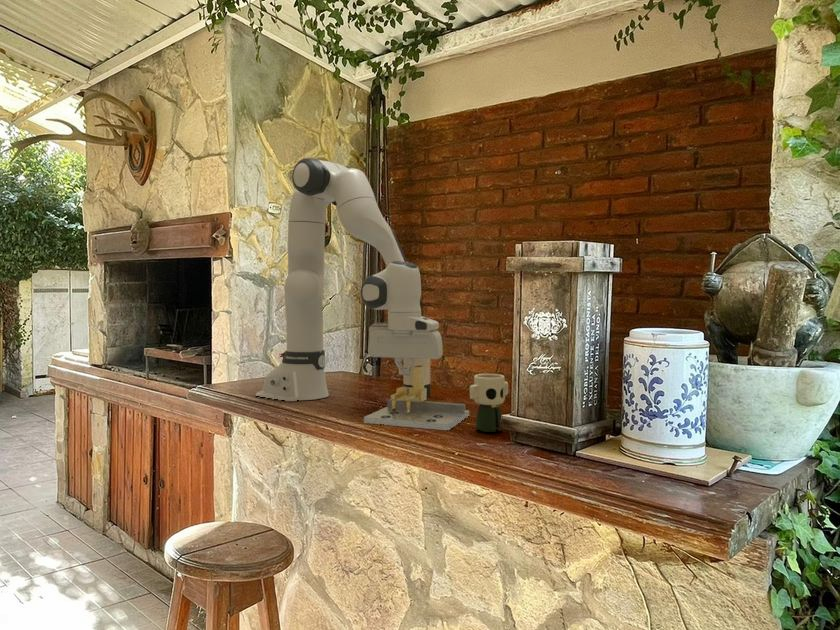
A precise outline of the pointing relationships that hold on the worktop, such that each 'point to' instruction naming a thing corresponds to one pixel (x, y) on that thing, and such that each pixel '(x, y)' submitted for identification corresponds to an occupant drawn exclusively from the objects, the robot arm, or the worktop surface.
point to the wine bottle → (420, 362)
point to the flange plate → (418, 413)
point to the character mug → (489, 400)
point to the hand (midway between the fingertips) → (405, 375)
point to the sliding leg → (417, 388)
